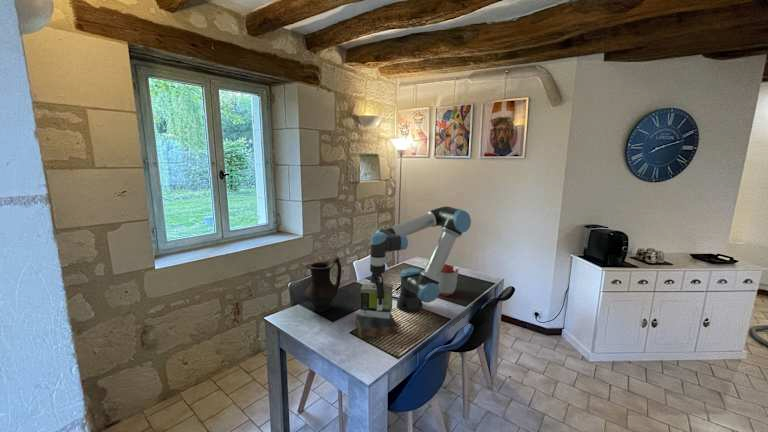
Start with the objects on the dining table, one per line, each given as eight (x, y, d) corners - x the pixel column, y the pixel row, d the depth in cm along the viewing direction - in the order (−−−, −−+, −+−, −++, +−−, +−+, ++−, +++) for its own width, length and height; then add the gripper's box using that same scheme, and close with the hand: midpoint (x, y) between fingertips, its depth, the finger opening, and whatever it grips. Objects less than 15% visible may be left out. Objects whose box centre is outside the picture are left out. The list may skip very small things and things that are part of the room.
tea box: (392, 310, 167) (393, 283, 164) (389, 319, 157) (390, 291, 154) (364, 307, 169) (364, 280, 166) (359, 316, 159) (360, 288, 157)
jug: (307, 318, 172) (306, 266, 166) (302, 304, 189) (301, 255, 183) (345, 312, 180) (345, 261, 175) (336, 298, 197) (336, 252, 191)
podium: (389, 319, 174) (390, 311, 173) (397, 334, 160) (398, 325, 159) (355, 322, 170) (355, 314, 169) (360, 338, 155) (360, 329, 154)
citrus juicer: (463, 296, 206) (465, 266, 202) (439, 299, 200) (441, 269, 197) (450, 286, 221) (452, 258, 217) (428, 289, 215) (429, 261, 211)
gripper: (391, 272, 148) (390, 315, 152) (379, 255, 171) (378, 293, 175) (376, 273, 146) (374, 316, 150) (365, 256, 169) (364, 294, 173)
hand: (376, 304), depth 162 cm, fingers closed on tea box, 12 cm apart
